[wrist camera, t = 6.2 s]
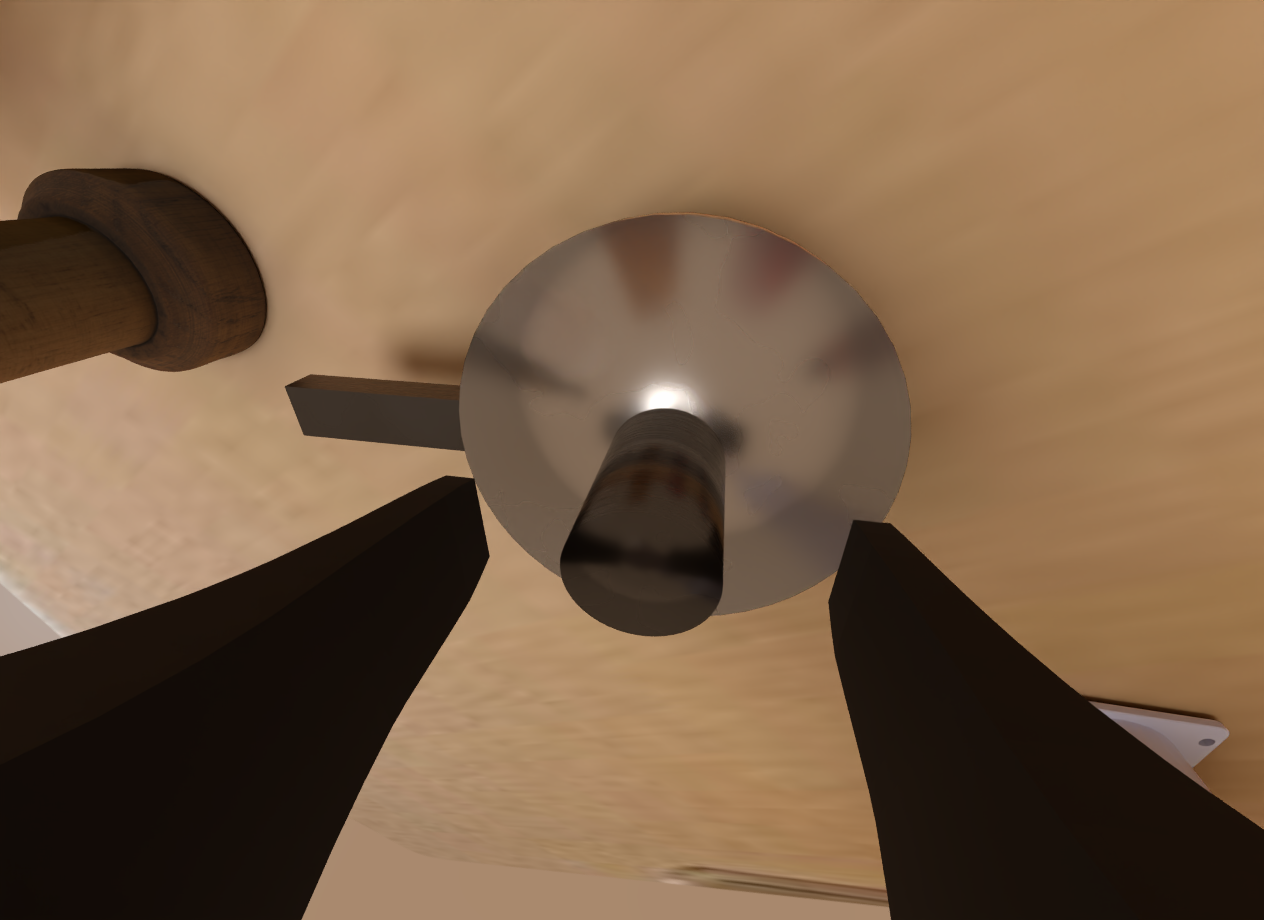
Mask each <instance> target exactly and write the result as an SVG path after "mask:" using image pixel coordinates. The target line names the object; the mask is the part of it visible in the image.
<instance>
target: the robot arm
mask: <svg viewBox="0 0 1264 920" xmlns="http://www.w3.org/2000/svg"><path fill="white" fill-rule="evenodd" d="M489 557H490V556H489V551H488V546H487V541H486V535H485V530H484V525H483V520H482V515H481V510H480V505H479V500H478V495H477V490H476V485H475V480H474V478H465V477H455V476H444V477H442V478H439V479H437V480H434V481H432V482H430V483H428V484H426V485H424V486H422V487H420V488H418V489H416V490H413V491H411V492H409V493H408V494H406V495H404V496H402V497H400V498H398V499H396V500H394V501H392V502H390V503H388V504H386V505H384V506H382V507H380V508H378V509H376V510H374V511H372V512H370V513H369V514H367V515H365V516H363V517H361V518H359V519H357V520H355V521H353V522H351V523H349V524H347V525H345V526H343V527H341V528H339V529H337V530H335V531H333V532H331V533H329V534H327V535H324V536H322V537H320V538H318V539H316V540H314V541H312V542H310V543H308V544H306V545H303V546H301V547H299V548H297V549H295V550H293V551H291V552H289V553H287V554H284V555H282V556H280V557H278V558H276V559H274V560H272V561H269V562H267V563H265V564H262V565H260V566H258V567H256V568H253V569H251V570H249V571H246V572H244V573H241V574H239V575H237V576H234V577H232V578H229V579H227V580H224V581H222V582H219V583H217V584H214V585H212V586H209V587H207V588H204V589H202V590H199V591H197V592H194V593H191V594H189V595H186V596H184V597H181V598H178V599H175V600H172V601H170V602H167V603H164V604H161V605H158V606H155V607H152V608H149V609H147V610H144V611H141V612H138V613H135V614H132V615H129V616H126V617H124V618H121V619H118V620H115V621H112V622H109V623H106V624H103V625H101V626H98V627H95V628H92V629H89V630H86V631H83V632H80V633H76V634H73V635H70V636H67V637H63V638H60V639H57V640H54V641H50V642H47V643H44V644H41V645H38V646H35V647H31V648H28V649H25V650H21V651H17V652H14V653H11V654H7V655H4V656H0V920H301V919H302V917H303V915H304V913H305V910H306V908H307V906H308V903H309V901H310V899H311V897H312V894H313V892H314V890H315V888H316V885H317V883H318V881H319V878H320V876H321V874H322V872H323V869H324V867H325V865H326V863H327V860H328V858H329V856H330V854H331V851H332V849H333V847H334V845H335V843H336V840H337V838H338V836H339V834H340V832H341V830H342V828H343V826H344V824H345V821H346V819H347V817H348V815H349V813H350V811H351V809H352V807H353V805H354V802H355V800H356V798H357V796H358V794H359V792H360V790H361V788H362V786H363V783H364V781H365V779H366V778H367V776H368V774H369V772H370V770H371V768H372V766H373V764H374V762H375V760H376V758H377V756H378V754H379V752H380V750H381V748H382V746H383V744H384V742H385V740H386V738H387V736H388V734H389V732H390V730H391V728H392V726H393V724H394V723H395V721H396V719H397V718H398V716H399V714H400V712H401V711H402V709H403V707H404V705H405V704H406V702H407V700H408V699H409V697H410V696H411V694H412V692H413V691H414V689H415V688H416V686H417V684H418V683H419V681H420V680H421V678H422V676H423V675H424V673H425V672H426V670H427V669H428V667H429V665H430V664H431V662H432V661H433V659H434V657H435V656H436V654H437V653H438V651H439V649H440V648H441V646H442V645H443V643H444V642H445V640H446V638H447V637H448V635H449V634H450V632H451V630H452V629H453V627H454V625H455V624H456V622H457V621H458V619H459V617H460V616H461V614H462V612H463V611H464V609H465V607H466V606H467V604H468V602H469V601H470V599H471V597H472V595H473V593H474V590H475V588H476V586H477V584H478V582H479V580H480V577H481V575H482V573H483V571H484V568H485V566H486V564H487V561H488V559H489ZM828 603H829V612H830V621H831V630H832V638H833V645H834V653H835V658H836V662H837V666H838V670H839V674H840V679H841V683H842V687H843V691H844V695H845V699H846V703H847V707H848V710H849V714H850V718H851V722H852V726H853V730H854V734H855V738H856V742H857V746H858V750H859V753H860V757H861V761H862V765H863V769H864V773H865V777H866V781H867V785H868V789H869V793H870V798H871V803H872V807H873V812H874V816H875V821H876V827H877V833H878V839H879V845H880V851H881V858H882V864H883V870H884V876H885V883H886V889H887V895H888V902H889V909H890V916H891V920H1264V830H1263V829H1262V828H1261V827H1259V826H1258V825H1256V824H1255V823H1253V822H1252V821H1251V820H1249V819H1248V818H1246V817H1245V816H1243V815H1242V814H1240V813H1239V812H1238V811H1236V810H1235V809H1233V808H1232V807H1230V806H1229V805H1227V804H1226V803H1225V802H1223V801H1222V800H1220V799H1219V798H1217V797H1216V796H1214V795H1213V794H1212V792H1211V791H1210V790H1209V789H1208V787H1207V786H1206V785H1205V784H1204V782H1203V781H1202V780H1201V778H1200V777H1199V776H1198V775H1197V773H1196V772H1195V771H1194V770H1193V767H1194V766H1195V765H1197V764H1198V763H1199V762H1200V761H1201V760H1202V759H1203V758H1205V757H1206V756H1207V755H1208V754H1209V753H1210V752H1211V751H1213V750H1214V749H1215V748H1216V747H1217V746H1218V745H1220V744H1221V743H1222V742H1223V741H1224V740H1225V739H1226V738H1227V737H1228V736H1229V734H1230V733H1229V731H1228V729H1227V728H1226V727H1225V726H1224V725H1223V724H1222V723H1221V722H1219V721H1215V720H1210V719H1204V718H1197V717H1191V716H1184V715H1177V714H1171V713H1164V712H1158V711H1151V710H1144V709H1138V708H1131V707H1125V706H1118V705H1111V704H1105V703H1098V702H1092V701H1088V700H1086V699H1085V698H1084V697H1083V696H1081V695H1080V694H1079V693H1078V692H1076V691H1075V690H1074V689H1073V688H1071V687H1070V686H1069V685H1068V684H1066V683H1065V682H1064V681H1063V680H1062V679H1060V678H1059V677H1058V676H1057V675H1056V674H1055V673H1053V672H1052V671H1051V670H1050V669H1049V668H1048V667H1046V666H1045V665H1044V664H1043V663H1042V662H1040V661H1039V660H1038V659H1037V658H1036V657H1035V656H1033V655H1032V654H1031V653H1030V652H1029V651H1027V650H1026V649H1025V648H1024V647H1023V646H1022V645H1020V644H1019V643H1018V642H1017V641H1016V640H1015V639H1014V638H1012V637H1011V636H1010V635H1009V634H1008V633H1007V632H1006V631H1005V630H1003V629H1002V628H1001V627H1000V626H999V625H998V624H997V623H996V622H994V621H993V620H992V619H991V618H990V617H989V616H988V615H987V614H986V613H985V612H984V611H982V610H981V609H980V608H979V607H978V606H977V605H976V604H975V603H974V602H973V601H972V600H971V599H970V598H968V597H967V596H966V595H965V594H964V593H963V592H962V591H961V590H960V589H959V588H958V587H957V586H956V585H955V584H954V583H953V582H951V581H950V580H949V579H948V578H947V577H946V576H945V575H944V574H943V573H942V572H941V571H940V570H939V569H938V568H937V567H936V566H935V565H934V564H933V563H932V562H931V561H930V560H929V559H928V558H927V557H926V556H924V555H923V554H922V553H921V552H920V551H919V550H918V549H917V548H916V547H915V546H914V545H913V544H912V543H911V542H910V541H909V540H908V539H907V538H906V537H905V536H904V535H903V534H901V533H900V532H899V531H898V530H897V529H896V528H895V527H894V526H893V525H891V524H890V523H881V522H872V521H862V520H853V522H852V526H851V529H850V532H849V536H848V539H847V542H846V545H845V549H844V552H843V555H842V559H841V562H840V565H839V569H838V572H837V575H836V578H835V582H834V585H833V588H832V592H831V595H830V598H829V602H828Z"/></svg>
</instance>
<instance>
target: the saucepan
mask: <svg viewBox="0 0 1264 920" xmlns="http://www.w3.org/2000/svg"><path fill="white" fill-rule="evenodd" d="M740 221H741V220H740ZM285 388H286V391H287V393H288V396H289V399H290V401H291V404H292V406H293V409H294V411H295V414H296V416H297V419H298V421H299V424H300V426H301V429H302V432H303V434H304V435H307V436H317V437H327V438H337V439H347V440H358V441H368V442H378V443H388V444H398V445H409V446H419V447H429V448H439V449H450V450H460V451H465V449H464V444H463V440H462V436H461V426H460V416H459V399H460V386H457V385H444V384H431V383H418V382H404V381H391V380H378V379H365V378H352V377H338V376H325V375H312V374H310V375H308V376H306V377H304V378H302V379H300V380H297V381H295V382H293V383H291V384H289V385H287V386H285Z"/></svg>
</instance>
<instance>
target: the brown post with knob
mask: <svg viewBox="0 0 1264 920" xmlns="http://www.w3.org/2000/svg"><path fill="white" fill-rule="evenodd" d="M265 311H266V302H265V296H264V291H263V287H262V283H261V280H260V277H259V274H258V272H257V269H256V267H255V264H254V262H253V260H252V258H251V256H250V254H249V252H248V250H247V249H246V247H245V246H244V244H243V243H242V241H241V239H240V238H239V237H238V235H237V234H236V232H235V231H234V230H233V228H232V227H231V226H230V224H229V223H228V222H227V221H226V220H225V219H224V218H223V217H222V216H221V215H220V214H219V213H218V212H217V211H216V210H215V209H214V208H213V207H212V206H211V205H210V204H209V203H207V202H206V201H205V200H204V199H203V198H201V197H200V196H199V195H197V194H196V193H195V192H193V191H192V190H190V189H189V188H187V187H186V186H184V185H182V184H181V183H179V182H177V181H175V180H173V179H171V178H169V177H167V176H164V175H162V174H159V173H156V172H152V171H147V170H141V169H125V168H120V169H60V170H54V171H50V172H46V173H44V174H42V175H40V176H38V177H37V178H35V179H34V180H33V181H32V183H31V184H30V185H29V187H28V188H27V190H26V192H25V194H24V197H23V202H22V207H21V210H20V212H19V215H18V219H17V220H6V221H0V383H3V382H7V381H10V380H14V379H17V378H20V377H24V376H27V375H31V374H34V373H38V372H41V371H45V370H48V369H52V368H55V367H59V366H62V365H66V364H70V363H73V362H77V361H80V360H84V359H87V358H91V357H94V356H98V355H101V354H105V353H108V352H110V353H112V354H115V355H117V356H120V357H123V358H125V359H127V360H129V361H131V362H134V363H136V364H138V365H141V366H144V367H147V368H151V369H154V370H159V371H168V372H179V371H186V370H190V369H194V368H197V367H200V366H203V365H205V364H208V363H211V362H213V361H216V360H219V359H222V358H225V357H228V356H231V355H234V354H236V353H239V352H241V351H243V350H245V349H247V348H248V347H250V346H251V345H252V344H253V343H254V342H255V341H256V340H257V339H258V337H259V335H260V333H261V331H262V329H263V325H264V321H265Z"/></svg>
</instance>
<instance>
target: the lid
mask: <svg viewBox="0 0 1264 920" xmlns="http://www.w3.org/2000/svg"><path fill="white" fill-rule="evenodd" d="M459 416H460V426H461V436H462V440H463V444H464V449H465V453H466V457H467V461H468V463H469V466H470V469H471V471H472V474H473V477H474V480H475V482H476V484H477V486H478V488H479V490H480V492H481V494H482V495H483V497H484V499H485V501H486V503H487V504H488V506H489V507H490V509H491V510H492V512H493V513H494V515H495V516H496V518H497V519H498V521H499V522H500V523H501V525H502V526H503V527H504V528H505V529H506V531H507V532H508V533H509V534H510V535H511V537H512V538H513V539H514V540H515V541H516V542H517V543H518V544H519V545H520V546H521V547H522V548H523V549H524V550H525V551H526V552H527V553H528V554H529V555H531V556H532V557H533V558H534V559H536V560H537V561H538V562H539V563H541V564H542V565H543V566H544V567H546V568H547V569H548V570H550V571H551V572H553V573H555V574H556V575H558V576H559V577H561V578H562V580H563V583H564V585H565V587H566V590H567V591H568V593H569V594H570V596H571V597H572V599H573V600H574V601H575V602H576V604H577V605H578V606H579V607H581V608H582V609H583V610H584V611H585V612H586V613H587V614H589V615H590V616H591V617H593V618H594V619H596V620H598V621H599V622H601V623H603V624H605V625H607V626H609V627H612V628H614V629H616V630H619V631H623V632H626V633H630V634H635V635H642V636H667V635H674V634H678V633H682V632H685V631H688V630H690V629H692V628H694V627H696V626H698V625H700V624H701V623H702V622H704V621H705V620H706V619H707V618H708V617H710V616H714V615H726V614H732V613H739V612H745V611H750V610H753V609H757V608H761V607H765V606H769V605H772V604H774V603H777V602H780V601H782V600H785V599H788V598H790V597H793V596H795V595H797V594H799V593H801V592H803V591H805V590H807V589H809V588H811V587H813V586H815V585H816V584H818V583H819V582H821V581H822V580H824V579H825V578H827V577H828V576H830V575H832V574H833V573H835V572H836V571H837V570H838V569H839V565H840V562H841V559H842V555H843V552H844V549H845V545H846V542H847V539H848V536H849V532H850V529H851V526H852V522H853V520H862V521H872V522H881V523H882V521H883V520H884V519H885V517H886V516H887V514H888V512H889V510H890V508H891V506H892V504H893V502H894V500H895V498H896V496H897V493H898V491H899V488H900V485H901V482H902V479H903V476H904V473H905V469H906V466H907V461H908V454H909V448H910V441H911V407H910V401H909V396H908V390H907V385H906V379H905V376H904V373H903V370H902V367H901V365H900V362H899V359H898V356H897V354H896V351H895V348H894V346H893V344H892V342H891V341H890V339H889V337H888V335H887V334H886V332H885V330H884V328H883V326H882V325H881V323H880V321H879V319H878V318H877V316H876V315H875V314H874V313H873V311H872V310H871V309H870V308H869V306H868V305H867V304H866V303H865V302H864V300H863V299H862V298H861V297H860V295H859V294H858V293H857V292H856V290H854V289H853V288H852V287H851V286H850V285H849V284H848V283H847V282H846V281H845V280H843V279H842V278H841V277H840V276H839V275H838V274H837V273H836V272H835V271H834V270H832V269H831V268H830V267H829V266H828V265H827V264H826V263H825V262H823V261H822V260H821V259H819V258H818V257H816V256H815V255H813V254H812V253H810V252H809V251H807V250H806V249H804V248H803V247H801V246H800V245H798V244H797V243H795V242H793V241H791V240H789V239H787V238H785V237H783V236H780V235H778V234H776V233H774V232H772V231H770V230H767V229H765V228H763V227H760V226H757V225H754V224H750V223H747V222H743V221H740V220H736V219H733V218H729V217H724V216H716V215H709V214H701V213H694V212H683V213H654V214H648V215H642V216H636V217H630V218H624V219H621V220H618V221H615V222H612V223H609V224H605V225H602V226H599V227H596V228H593V229H590V230H587V231H584V232H582V233H580V234H578V235H576V236H574V237H572V238H570V239H568V240H566V241H564V242H562V243H560V244H558V245H556V246H554V247H552V248H551V249H549V250H548V251H546V252H545V253H544V254H542V255H541V256H539V257H538V258H537V259H535V260H534V261H532V262H531V263H529V264H528V265H527V266H526V267H525V268H524V269H522V270H521V271H520V272H519V273H518V274H517V275H516V276H515V277H514V278H513V279H512V280H511V281H510V282H509V283H508V284H507V285H506V286H505V287H504V288H503V290H502V291H501V292H500V294H499V295H498V296H497V298H496V299H495V300H494V302H493V303H492V304H491V306H490V307H489V308H488V310H487V311H486V313H485V315H484V317H483V319H482V320H481V322H480V324H479V326H478V328H477V330H476V332H475V334H474V336H473V339H472V341H471V344H470V347H469V350H468V353H467V356H466V359H465V363H464V368H463V373H462V378H461V383H460V399H459Z"/></svg>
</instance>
